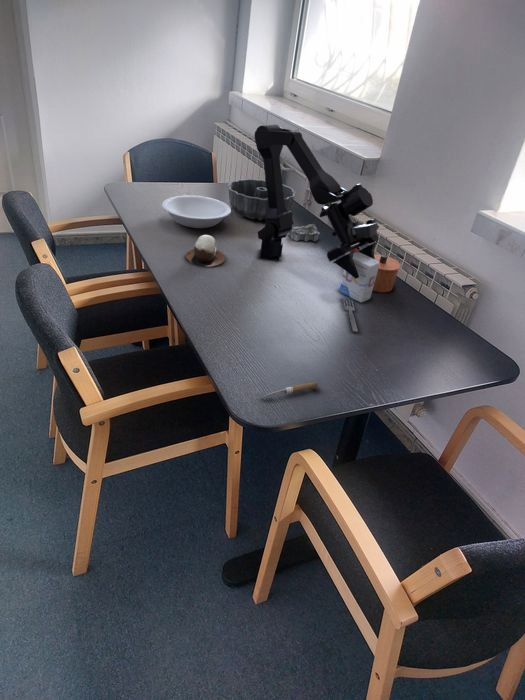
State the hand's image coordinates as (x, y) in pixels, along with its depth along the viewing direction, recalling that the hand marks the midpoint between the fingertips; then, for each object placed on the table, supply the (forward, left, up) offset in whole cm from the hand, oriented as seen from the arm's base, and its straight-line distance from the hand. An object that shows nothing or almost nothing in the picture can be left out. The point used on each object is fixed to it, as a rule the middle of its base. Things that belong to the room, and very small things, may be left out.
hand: (366, 273), depth 137 cm
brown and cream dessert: (-47, +14, -8) cm, 50 cm away
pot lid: (+7, +10, 0) cm, 12 cm away
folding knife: (-22, -48, -8) cm, 54 cm away
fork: (-4, -12, -8) cm, 14 cm away
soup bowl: (-54, +42, -8) cm, 69 cm away
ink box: (-2, +1, -8) cm, 8 cm away
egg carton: (-15, +42, -8) cm, 45 cm away
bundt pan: (-32, +62, -8) cm, 70 cm away
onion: (-1, +22, -8) cm, 23 cm away
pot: (+7, +10, -8) cm, 14 cm away
